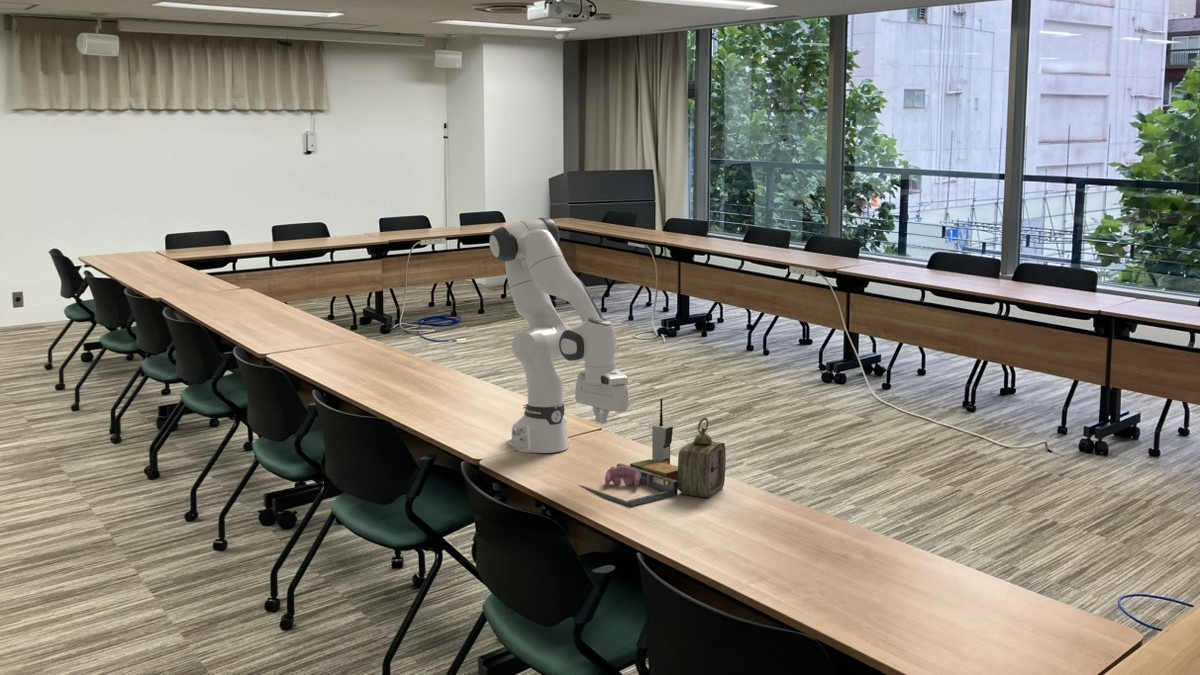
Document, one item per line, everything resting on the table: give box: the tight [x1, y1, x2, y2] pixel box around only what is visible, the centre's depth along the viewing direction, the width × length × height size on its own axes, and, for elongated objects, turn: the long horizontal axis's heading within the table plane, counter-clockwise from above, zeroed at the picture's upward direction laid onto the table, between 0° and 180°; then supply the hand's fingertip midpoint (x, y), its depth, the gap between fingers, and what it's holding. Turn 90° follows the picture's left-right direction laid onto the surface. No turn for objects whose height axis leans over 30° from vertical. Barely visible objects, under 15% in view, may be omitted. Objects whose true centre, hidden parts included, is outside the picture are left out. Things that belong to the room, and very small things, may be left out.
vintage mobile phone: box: [651, 398, 674, 465], centre depth 308 cm, size 4×5×25 cm
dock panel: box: [581, 462, 679, 508], centre depth 288 cm, size 24×17×4 cm
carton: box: [629, 459, 678, 481], centre depth 298 cm, size 8×16×4 cm, turn 39°
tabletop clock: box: [677, 417, 727, 499], centre depth 286 cm, size 14×9×25 cm, turn 153°
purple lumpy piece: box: [604, 465, 640, 487], centre depth 291 cm, size 10×5×7 cm
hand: (601, 422), depth 294 cm, fingers closed
